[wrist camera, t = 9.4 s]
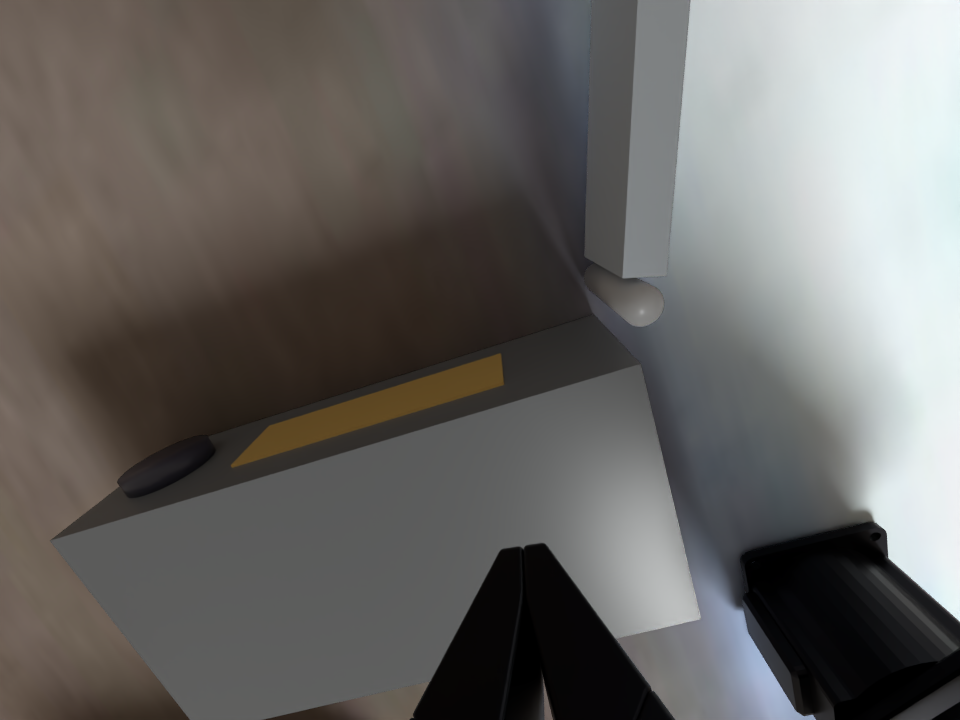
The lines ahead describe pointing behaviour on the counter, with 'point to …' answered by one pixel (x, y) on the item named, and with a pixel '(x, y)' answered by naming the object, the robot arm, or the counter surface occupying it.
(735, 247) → the counter surface
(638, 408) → the gray rectangular box
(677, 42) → the side door
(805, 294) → the counter surface
